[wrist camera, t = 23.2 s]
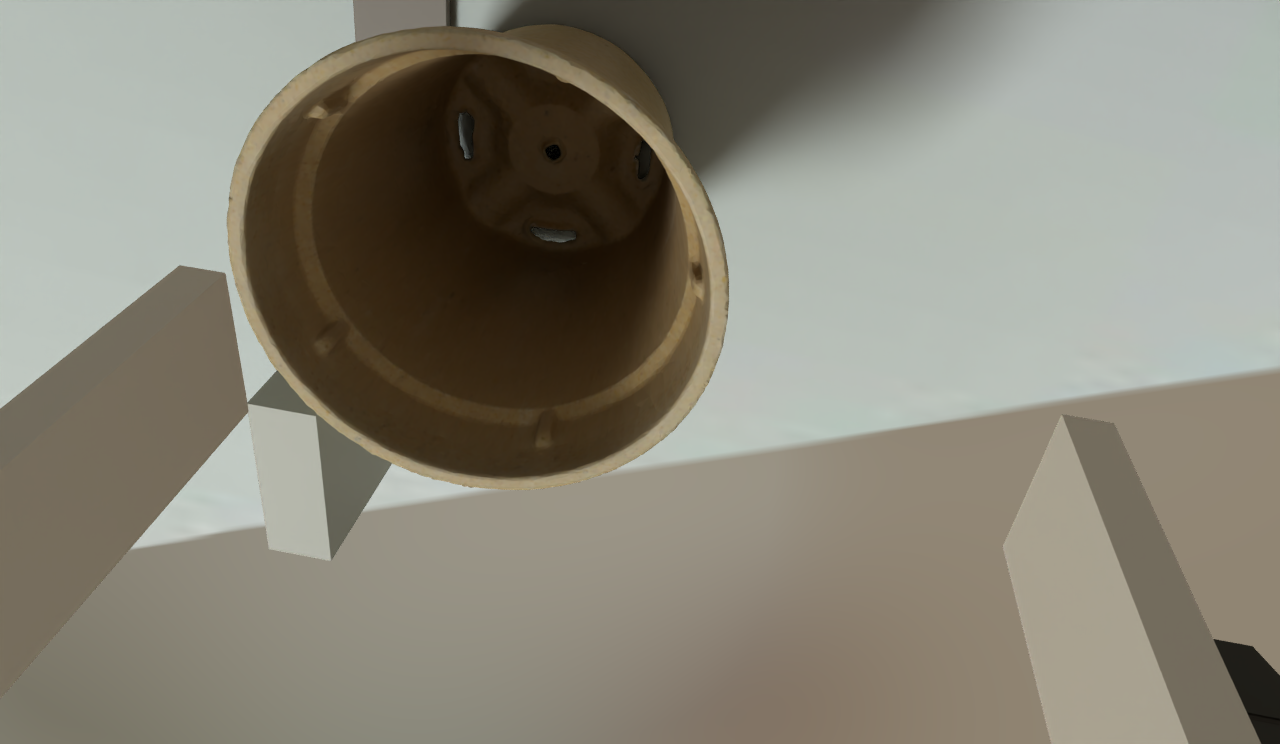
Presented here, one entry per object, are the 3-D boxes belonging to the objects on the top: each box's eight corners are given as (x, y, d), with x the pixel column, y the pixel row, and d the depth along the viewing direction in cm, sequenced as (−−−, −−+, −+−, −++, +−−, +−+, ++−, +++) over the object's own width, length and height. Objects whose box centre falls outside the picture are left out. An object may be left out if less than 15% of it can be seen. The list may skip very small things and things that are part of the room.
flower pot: (676, -111, 21) (629, -55, 14) (780, 256, 25) (785, 443, 18) (322, 21, 23) (124, 126, 16) (473, 334, 28) (371, 526, 21)
